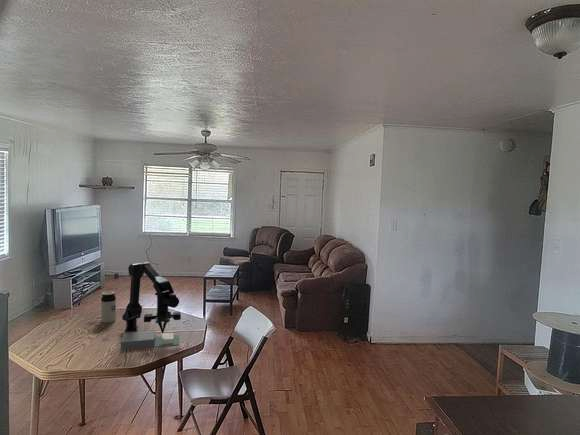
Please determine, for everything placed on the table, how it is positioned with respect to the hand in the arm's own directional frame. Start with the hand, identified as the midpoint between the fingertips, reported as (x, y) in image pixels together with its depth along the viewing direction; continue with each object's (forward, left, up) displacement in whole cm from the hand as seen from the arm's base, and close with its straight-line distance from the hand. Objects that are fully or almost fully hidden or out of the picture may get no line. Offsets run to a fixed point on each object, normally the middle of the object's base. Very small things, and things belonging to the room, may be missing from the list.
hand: (162, 332), depth 205 cm
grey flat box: (0, -12, -5) cm, 13 cm away
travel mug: (-42, -33, -5) cm, 53 cm away
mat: (0, +2, -5) cm, 6 cm away
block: (0, +3, -2) cm, 3 cm away
